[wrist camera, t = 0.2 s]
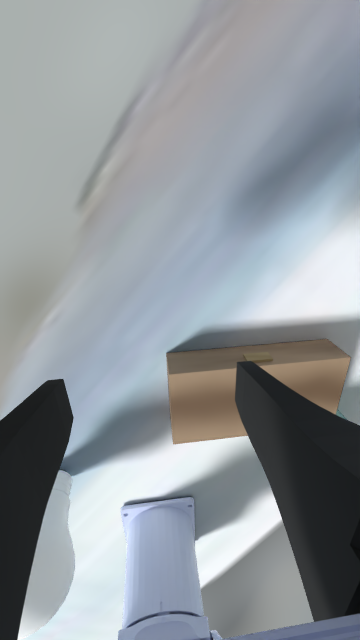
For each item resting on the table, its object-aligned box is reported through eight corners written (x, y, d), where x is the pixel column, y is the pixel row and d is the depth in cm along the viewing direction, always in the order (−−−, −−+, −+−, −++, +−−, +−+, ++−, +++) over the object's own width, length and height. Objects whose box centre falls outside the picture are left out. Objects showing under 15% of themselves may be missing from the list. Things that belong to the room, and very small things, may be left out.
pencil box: (313, 402, 26) (332, 425, 24) (170, 417, 25) (173, 444, 22) (327, 336, 23) (351, 355, 21) (166, 351, 22) (168, 372, 19)
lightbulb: (17, 482, 26) (-62, 654, 16) (43, 441, 25) (-26, 606, 15) (75, 499, 28) (37, 662, 18) (104, 462, 27) (79, 621, 17)
